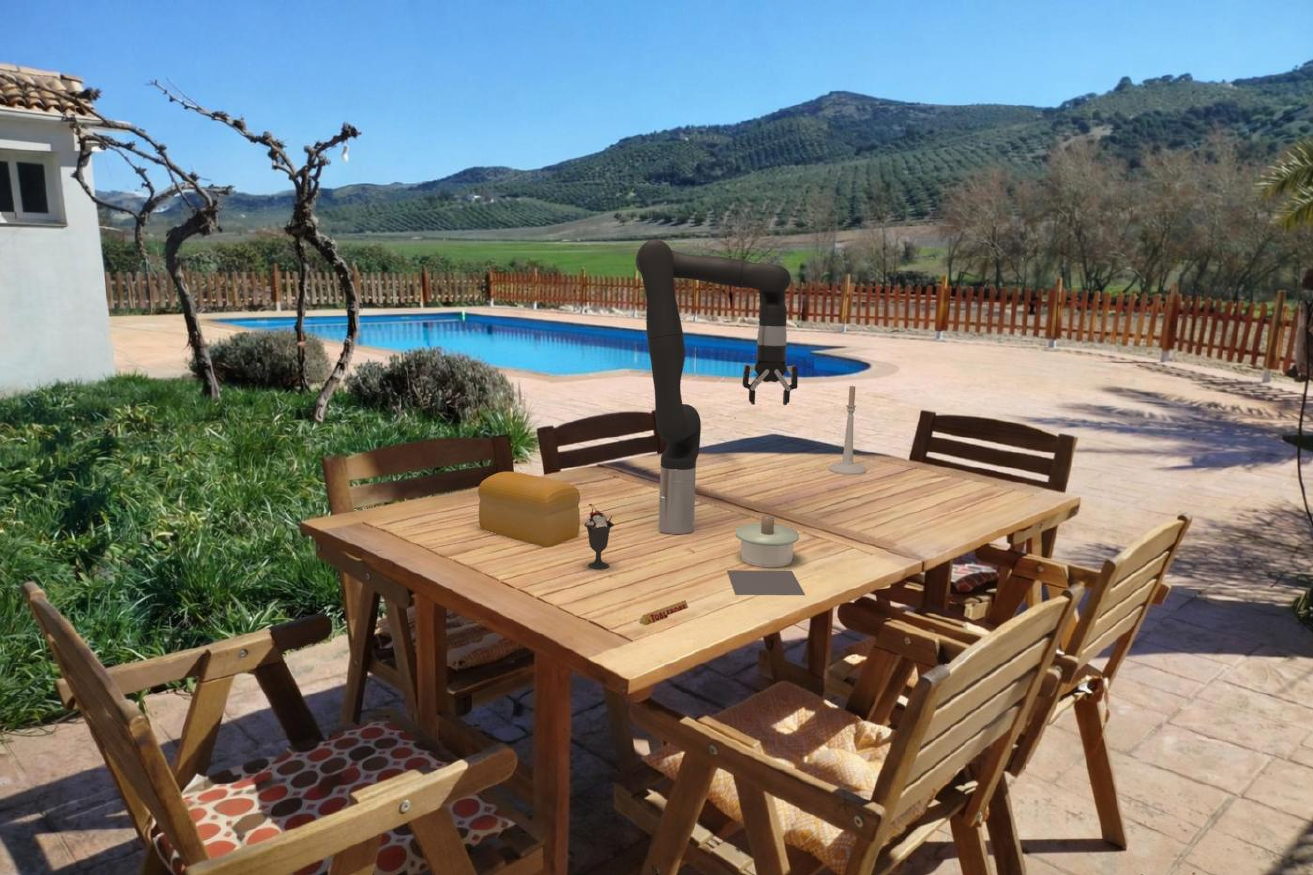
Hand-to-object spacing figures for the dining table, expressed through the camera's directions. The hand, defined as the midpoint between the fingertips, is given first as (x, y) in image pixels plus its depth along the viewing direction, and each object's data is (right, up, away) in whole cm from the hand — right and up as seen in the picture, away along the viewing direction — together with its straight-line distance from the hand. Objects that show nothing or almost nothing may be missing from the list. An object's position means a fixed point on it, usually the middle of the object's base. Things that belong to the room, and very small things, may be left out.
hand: (768, 404), depth 231 cm
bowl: (-3, -38, -22) cm, 44 cm away
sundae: (-43, -39, -29) cm, 65 cm away
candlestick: (+37, -20, +73) cm, 84 cm away
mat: (-6, -41, -38) cm, 56 cm away
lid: (-3, -32, -23) cm, 40 cm away
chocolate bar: (-28, -45, -57) cm, 78 cm away
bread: (-63, -34, -5) cm, 71 cm away
